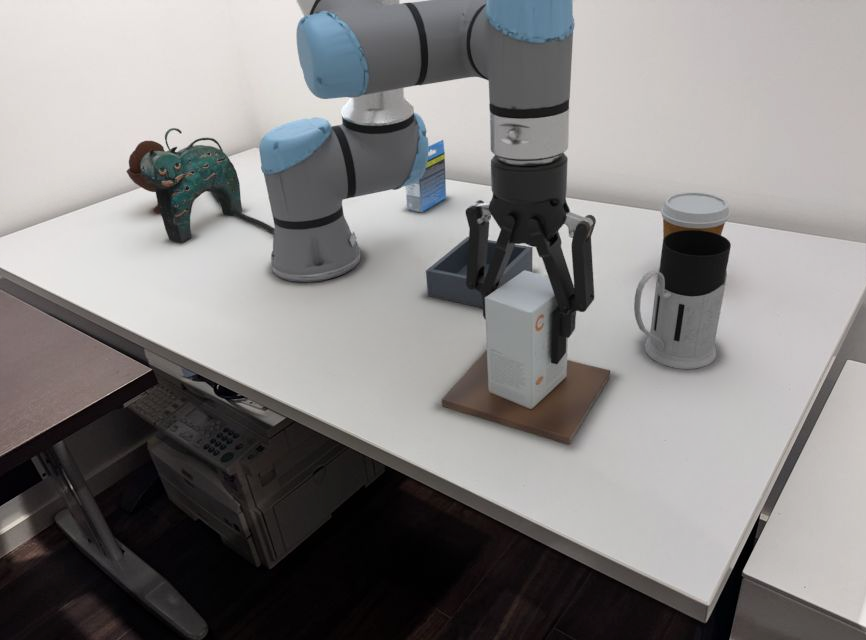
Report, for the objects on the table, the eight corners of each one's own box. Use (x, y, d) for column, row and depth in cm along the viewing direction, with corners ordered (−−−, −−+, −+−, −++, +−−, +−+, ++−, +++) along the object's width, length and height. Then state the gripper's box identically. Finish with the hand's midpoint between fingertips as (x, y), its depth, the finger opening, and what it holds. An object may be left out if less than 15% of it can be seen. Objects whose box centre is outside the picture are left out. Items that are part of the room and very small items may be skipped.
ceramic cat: (178, 247, 127) (146, 141, 116) (155, 242, 130) (122, 138, 119) (251, 210, 141) (228, 113, 130) (228, 207, 144) (204, 111, 133)
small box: (523, 360, 85) (524, 268, 78) (567, 377, 81) (572, 281, 74) (486, 392, 80) (483, 296, 73) (531, 411, 76) (532, 312, 69)
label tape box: (432, 196, 141) (427, 136, 134) (448, 198, 139) (444, 139, 132) (406, 210, 135) (400, 149, 128) (422, 213, 133) (417, 151, 126)
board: (441, 406, 80) (441, 399, 79) (493, 348, 90) (493, 341, 89) (569, 444, 73) (569, 437, 72) (610, 376, 83) (610, 370, 82)
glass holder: (730, 351, 85) (752, 242, 77) (657, 395, 79) (672, 281, 71) (673, 324, 92) (688, 221, 83) (601, 363, 85) (609, 256, 77)
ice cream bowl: (203, 203, 147) (184, 134, 139) (161, 221, 139) (139, 149, 131) (171, 197, 152) (152, 130, 144) (130, 214, 144) (106, 144, 136)
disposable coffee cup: (722, 292, 98) (737, 215, 91) (654, 290, 100) (664, 214, 93) (713, 264, 106) (726, 191, 99) (650, 262, 108) (659, 190, 101)
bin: (427, 295, 104) (425, 270, 101) (468, 260, 113) (467, 236, 111) (495, 310, 98) (494, 284, 96) (532, 272, 108) (532, 247, 106)
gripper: (423, 156, 68) (438, 347, 80) (616, 176, 58) (599, 388, 71) (458, 135, 73) (467, 318, 85) (641, 151, 64) (621, 353, 76)
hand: (527, 349), depth 78 cm, fingers closed on small box, 7 cm apart
